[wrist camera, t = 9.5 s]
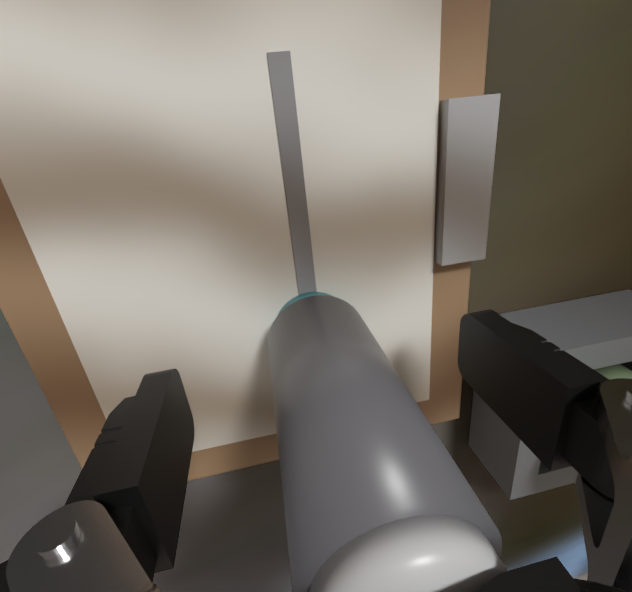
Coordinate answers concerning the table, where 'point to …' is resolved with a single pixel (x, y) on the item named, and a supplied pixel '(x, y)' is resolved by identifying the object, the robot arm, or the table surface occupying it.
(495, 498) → the table surface
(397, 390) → the cylinder
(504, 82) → the table surface
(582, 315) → the button housing
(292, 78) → the clipboard
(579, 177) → the table surface
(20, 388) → the table surface
